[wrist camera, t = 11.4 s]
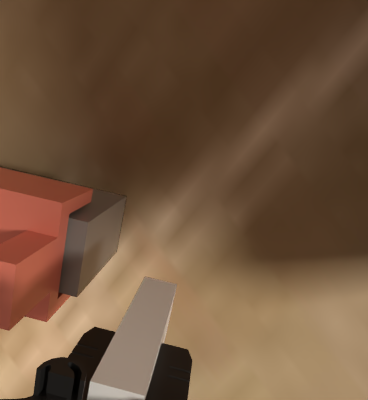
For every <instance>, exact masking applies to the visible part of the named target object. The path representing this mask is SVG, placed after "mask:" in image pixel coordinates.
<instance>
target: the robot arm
mask: <svg viewBox="0 0 368 400" xmlns="http://www.w3.org/2000/svg"><path fill="white" fill-rule="evenodd" d="M176 287H177V284H174V283H170V282H166V281H162V280H158V279H154V278H149V277H144V279H143V281H142V283H141V285H140V287H139V289H138V291H137V293H136V295H135V296H134V298H133V300H132V302H131V304H130V306H129V308H128V310H127V312H126V314H125V316H124V317H123V319H122V321H121V323H120V325H119V327H118V329H117V331H116V332H113V331H109V330H105V329H101V328H98V327H94V328H92V329H91V330H89V331H87V332H86V333H84V334H83V336H82V337H81V339H80V340H79V342H78V344H77V345H76V346H75V348H74V349H73V351H72V353H71V354H70V355H69V357H68V358H65V357H60V358H54V359H51V360H48V361H46V362H44V363H43V364H41V365H40V366H39V367H38V368H37V371H36V379H35V387H34V395H33V396H31V397H27V398H22V399H0V400H187V398H188V390H189V382H190V373H191V366H192V359H191V356H190V354H189V351H188V350H187V349H184V348H180V347H176V346H172V345H168V344H164V340H165V337H166V332H167V328H168V323H169V319H170V314H171V310H172V305H173V301H174V296H175V292H176Z"/></svg>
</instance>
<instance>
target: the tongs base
mask: <svg viewBox="0 0 368 400" xmlns="http://www.w3.org/2000/svg"><path fill="white" fill-rule="evenodd" d="M0 168H3V167H0ZM4 169H8V168H4ZM9 170H12V169H9ZM13 171H16V170H13ZM17 172H20V171H17ZM21 173H25V172H21ZM26 174H29V173H26ZM30 175H33V174H30ZM34 176H38V175H34ZM39 177H42V176H39ZM43 178H46V177H43ZM47 179H50V178H47ZM51 180H55V179H51ZM56 181H59V180H56ZM60 182H63V181H60ZM64 183H68V182H64ZM69 184H72V183H69ZM73 185H76V184H73ZM77 186H81V185H77ZM82 187H85V186H82ZM86 188H89V187H86ZM90 189H93V188H90ZM126 197H127V196H124V195H119V194H115V193H111V192H106V191H102V190H98V189H93V193H92V199H91V202H90V203H88V204H86V205H84V206H83V207H81V208H79V209H77V210H75V211H73V212H72V213H70V214H69V220H68V227H67V234H66V241H65V248H64V256H63V263H62V270H61V277H60V284H59V293H63V294H67V295H70V296H74V297H78V295H79V294H80V293H81V292H82V291H83V290H84V288H85V287H86V286H87V285H88V284H89V283H90V282H91V280H92V279H93V278H94V277H95V276H96V275H97V274H98V272H99V271H100V270H101V269H102V268H103V267H104V265H105V264H106V263H107V262H108V261H109V260H110V259H111V257H112V256H113V255H114V254H115V253H116V252H117V248H118V242H119V236H120V231H121V225H122V219H123V214H124V208H125V202H126Z"/></svg>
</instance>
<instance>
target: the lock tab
mask: <svg viewBox="0 0 368 400" xmlns="http://www.w3.org/2000/svg"><path fill="white" fill-rule="evenodd" d="M92 193H93V189H90V188H86V187H82V186H77V185H73V184H69V183H64V182H60V181H56V180H51V179H47V178H43V177H39V176H34V175H30V174H26V173H21V172H17V171H13V170H9V169H4V168H0V328H1V329H5V330H10V329H11V328H12V327H13V326H15V325H16V324H17V323H18V322H19V321H20V320H21V319H22V318H23V317H24V316H25V317H29V318H33V319H37V320H41V321H45V322H47V321H48V320H49V319H50V318H51V317H52V316H53V314H54V313H55V312H56V311H57V310H58V309H59V308H60V307H61V306H62V305H63V304H64V302H65V301H66V300H67V299H68V298H69V297H70V295H67V294H63V293H59V284H60V277H61V270H62V263H63V256H64V248H65V241H66V234H67V227H68V220H69V214H70V213H72V212H73V211H75V210H77V209H79V208H81V207H83V206H84V205H86V204H88V203H90V202H91V199H92Z"/></svg>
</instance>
